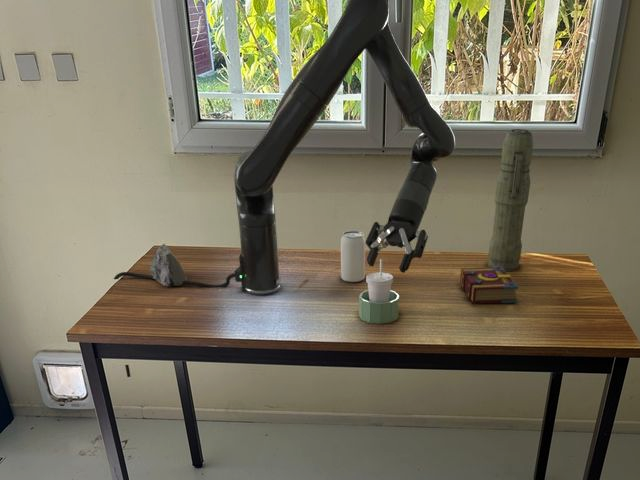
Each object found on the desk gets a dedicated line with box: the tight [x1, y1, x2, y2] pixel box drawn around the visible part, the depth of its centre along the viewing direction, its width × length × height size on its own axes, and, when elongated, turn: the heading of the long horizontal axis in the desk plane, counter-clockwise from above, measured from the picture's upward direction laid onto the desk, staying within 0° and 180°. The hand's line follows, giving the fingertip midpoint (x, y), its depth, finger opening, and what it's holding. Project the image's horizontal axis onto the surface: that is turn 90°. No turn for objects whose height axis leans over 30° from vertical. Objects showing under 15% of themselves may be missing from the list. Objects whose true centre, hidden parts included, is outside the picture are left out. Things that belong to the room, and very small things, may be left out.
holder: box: [358, 289, 400, 325], centre depth 167 cm, size 9×9×5 cm
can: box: [340, 230, 366, 283], centre depth 186 cm, size 6×6×12 cm
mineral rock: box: [149, 243, 188, 288], centre depth 186 cm, size 13×11×10 cm
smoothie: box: [365, 258, 394, 303], centre depth 164 cm, size 6×6×14 cm
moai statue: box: [487, 128, 534, 272], centre depth 188 cm, size 9×12×35 cm
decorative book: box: [459, 266, 519, 304], centre depth 179 cm, size 11×16×5 cm
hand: (385, 267), depth 164 cm, fingers open, 8 cm apart
